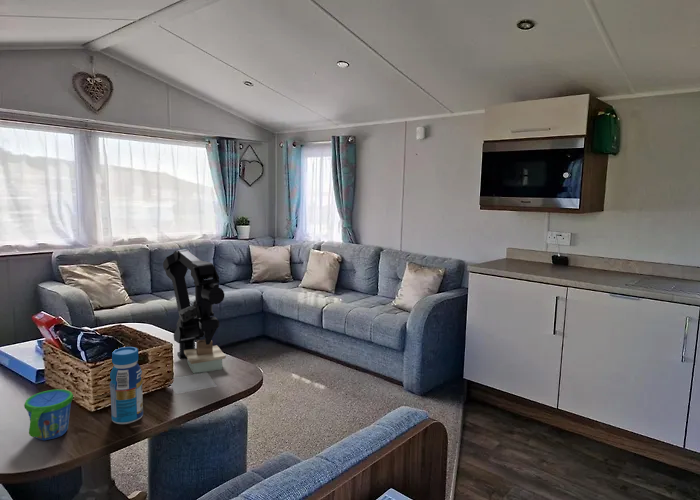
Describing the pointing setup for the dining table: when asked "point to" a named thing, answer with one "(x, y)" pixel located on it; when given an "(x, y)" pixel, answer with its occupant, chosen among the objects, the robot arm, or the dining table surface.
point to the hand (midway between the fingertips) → (204, 340)
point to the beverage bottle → (126, 386)
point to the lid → (204, 352)
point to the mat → (192, 383)
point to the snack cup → (49, 413)
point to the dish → (205, 366)
